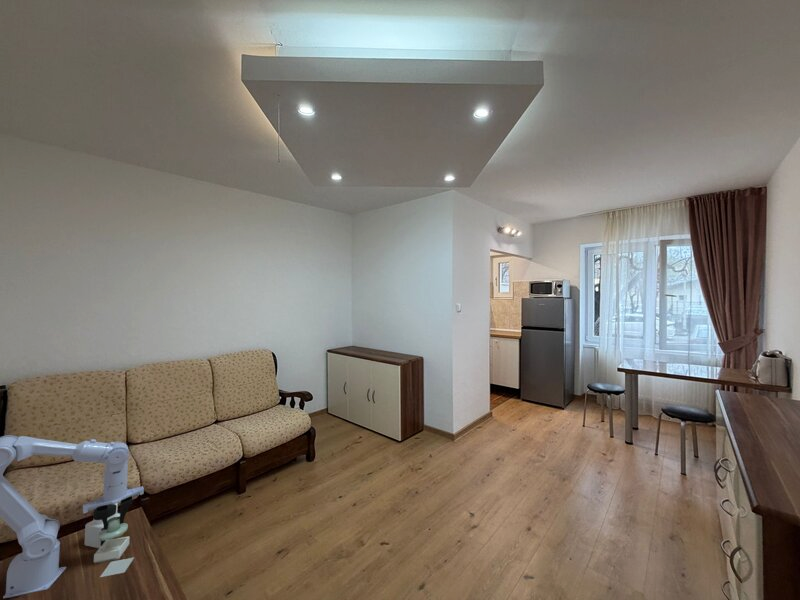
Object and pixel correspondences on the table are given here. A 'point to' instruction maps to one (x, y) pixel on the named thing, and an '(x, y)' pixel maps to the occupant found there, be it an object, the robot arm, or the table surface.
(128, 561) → the mat
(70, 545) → the table surface
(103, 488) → the robot arm
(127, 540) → the dish
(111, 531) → the lid
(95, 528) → the medicine bottle
